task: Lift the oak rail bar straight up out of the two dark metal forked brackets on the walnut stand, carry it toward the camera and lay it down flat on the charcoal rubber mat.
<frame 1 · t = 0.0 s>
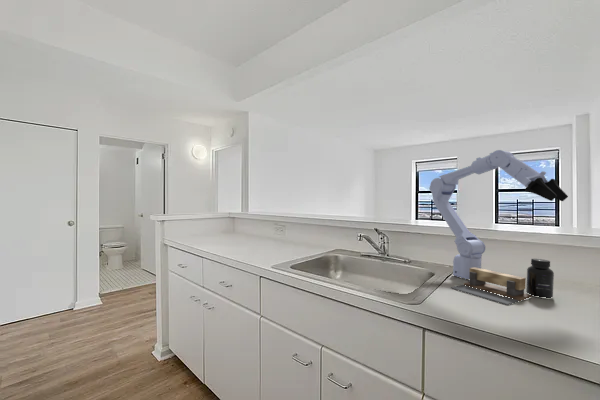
hand: (559, 198, 90), 32 cm above the worktop, tool tilted 50°, fingers open, 7 cm apart
mat: (482, 294, 94), on the worktop
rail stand: (495, 291, 98), on the worktop
supplement bottle: (539, 296, 94), on the worktop
rail: (495, 282, 98), point 3 cm above the worktop, touching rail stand
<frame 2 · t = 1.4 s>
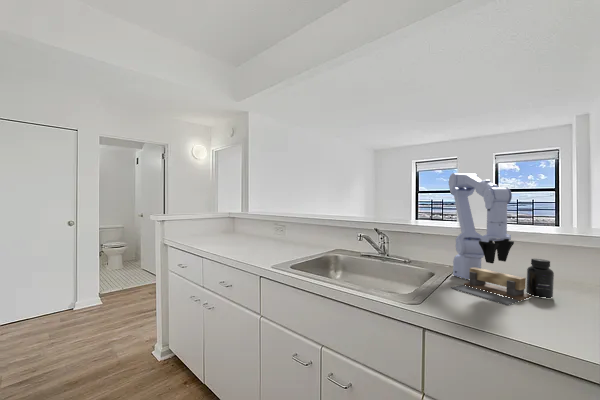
hand: (496, 261, 98), 10 cm above the worktop, tool pointing down, fingers open, 7 cm apart
nothing on the worktop moved.
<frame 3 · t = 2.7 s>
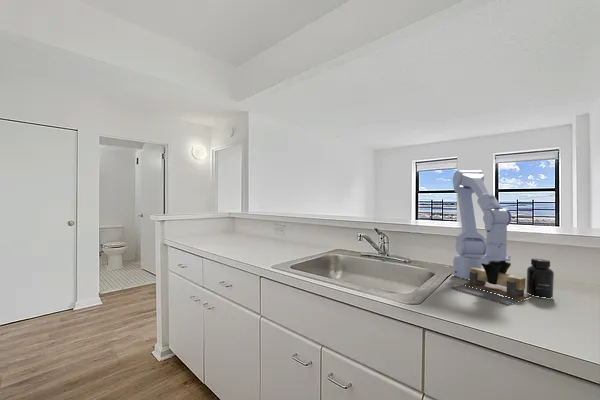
hand: (495, 283, 98), 3 cm above the worktop, tool pointing down, fingers closed on rail, 3 cm apart
rail: (495, 282, 98), point 3 cm above the worktop, touching gripper, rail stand
everything else where it was.
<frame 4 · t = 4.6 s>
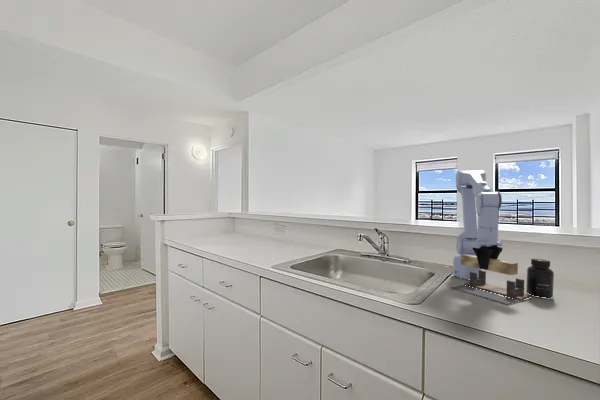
hand: (487, 268, 95), 9 cm above the worktop, tool pointing down, fingers closed on rail, 3 cm apart
rail: (487, 269, 95), point 8 cm above the worktop, touching gripper
everything else where it was.
when the fingers open (2 cm above the worktop, at t = 6.3 s): rail stays where it is, resting on mat.
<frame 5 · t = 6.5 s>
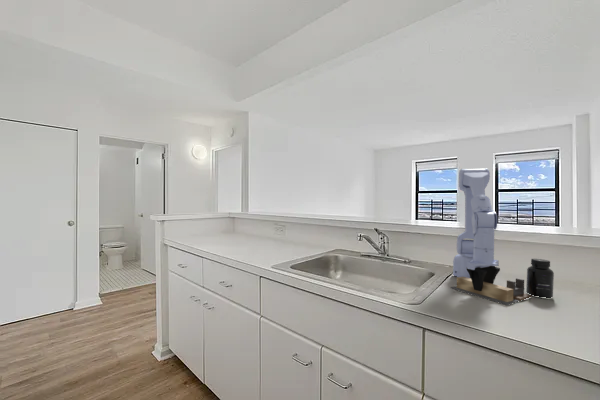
hand: (482, 289, 94), 2 cm above the worktop, tool pointing down, fingers open, 5 cm apart
rail: (483, 293, 94), resting on mat
everything else where it was.
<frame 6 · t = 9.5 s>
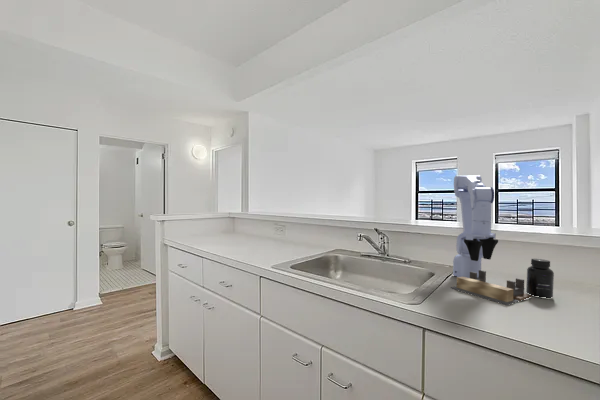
hand: (480, 259, 100), 10 cm above the worktop, tool pointing down, fingers open, 7 cm apart
nothing on the worktop moved.
at the end: rail inside the target area (0.1 cm from its centre), resting on mat; rail touching mat; the gripper is holding nothing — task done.
